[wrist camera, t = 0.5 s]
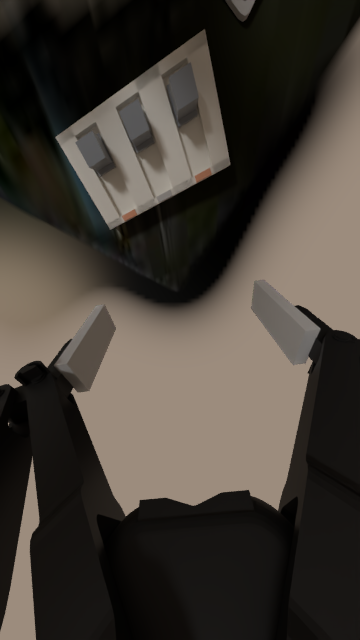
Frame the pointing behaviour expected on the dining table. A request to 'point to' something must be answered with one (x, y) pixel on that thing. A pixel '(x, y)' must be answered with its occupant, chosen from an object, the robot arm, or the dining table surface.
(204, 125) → the switch bank
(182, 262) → the dining table surface
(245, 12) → the handheld gaming console
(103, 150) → the switch tab
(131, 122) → the switch tab
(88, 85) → the dining table surface
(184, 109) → the switch tab
